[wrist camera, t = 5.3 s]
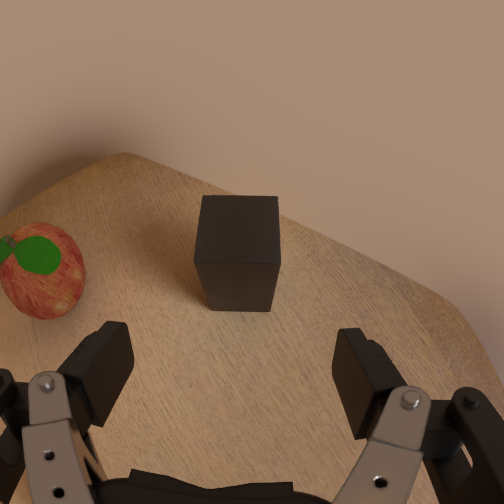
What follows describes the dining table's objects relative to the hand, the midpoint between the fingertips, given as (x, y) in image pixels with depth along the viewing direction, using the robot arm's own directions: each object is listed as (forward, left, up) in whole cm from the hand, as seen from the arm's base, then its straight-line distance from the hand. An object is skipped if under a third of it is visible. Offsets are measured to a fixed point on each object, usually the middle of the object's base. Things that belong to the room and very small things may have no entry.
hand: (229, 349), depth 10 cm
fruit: (+17, -8, -13) cm, 23 cm away
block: (-1, -8, -13) cm, 15 cm away
